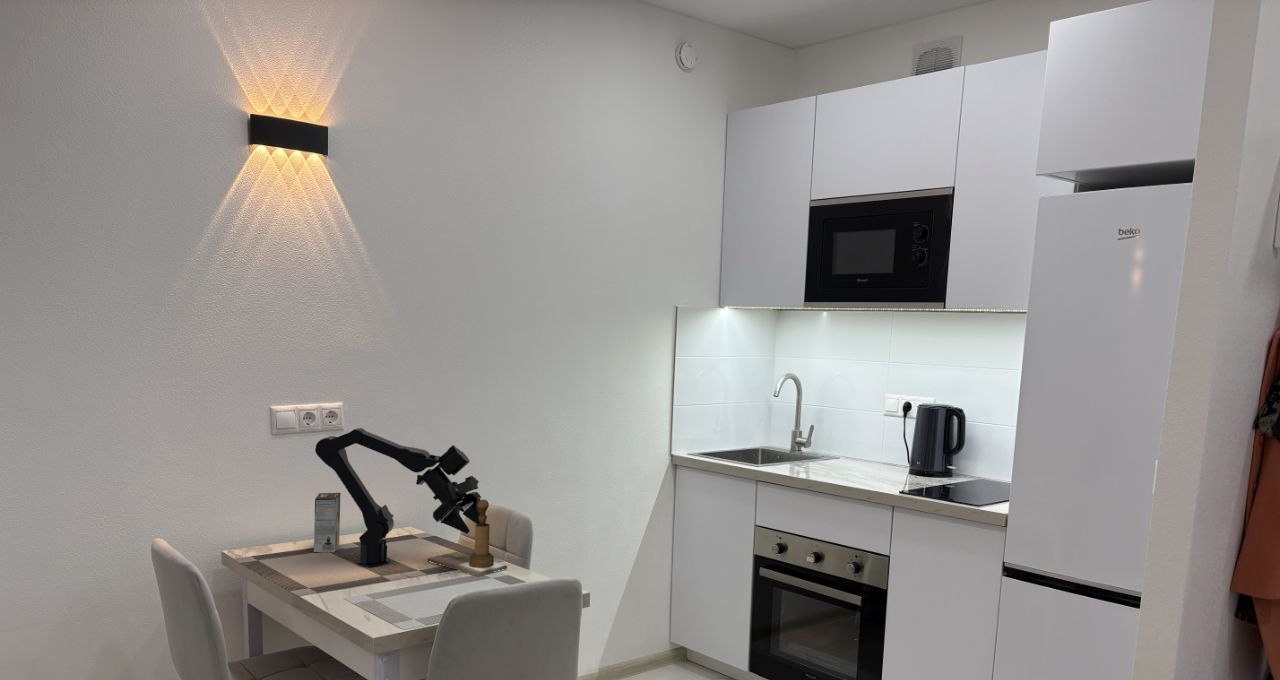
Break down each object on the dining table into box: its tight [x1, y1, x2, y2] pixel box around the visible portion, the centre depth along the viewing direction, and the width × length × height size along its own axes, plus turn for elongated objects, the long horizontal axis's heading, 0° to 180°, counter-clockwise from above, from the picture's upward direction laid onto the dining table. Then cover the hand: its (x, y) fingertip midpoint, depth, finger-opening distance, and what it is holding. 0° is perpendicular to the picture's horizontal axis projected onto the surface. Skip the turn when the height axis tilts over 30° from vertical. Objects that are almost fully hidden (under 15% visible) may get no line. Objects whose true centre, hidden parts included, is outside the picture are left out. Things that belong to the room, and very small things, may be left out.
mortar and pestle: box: [469, 499, 495, 568], centre depth 236 cm, size 7×6×18 cm
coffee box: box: [313, 492, 342, 553], centre depth 255 cm, size 9×6×16 cm
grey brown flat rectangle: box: [426, 551, 508, 577], centre depth 240 cm, size 10×22×1 cm, turn 50°
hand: (476, 529), depth 237 cm, fingers open, 9 cm apart
